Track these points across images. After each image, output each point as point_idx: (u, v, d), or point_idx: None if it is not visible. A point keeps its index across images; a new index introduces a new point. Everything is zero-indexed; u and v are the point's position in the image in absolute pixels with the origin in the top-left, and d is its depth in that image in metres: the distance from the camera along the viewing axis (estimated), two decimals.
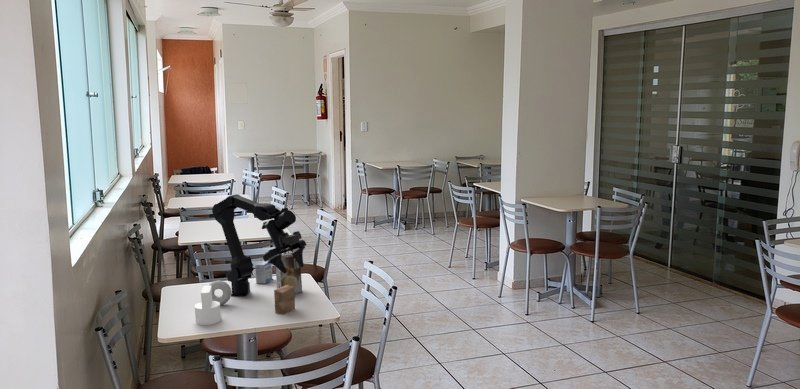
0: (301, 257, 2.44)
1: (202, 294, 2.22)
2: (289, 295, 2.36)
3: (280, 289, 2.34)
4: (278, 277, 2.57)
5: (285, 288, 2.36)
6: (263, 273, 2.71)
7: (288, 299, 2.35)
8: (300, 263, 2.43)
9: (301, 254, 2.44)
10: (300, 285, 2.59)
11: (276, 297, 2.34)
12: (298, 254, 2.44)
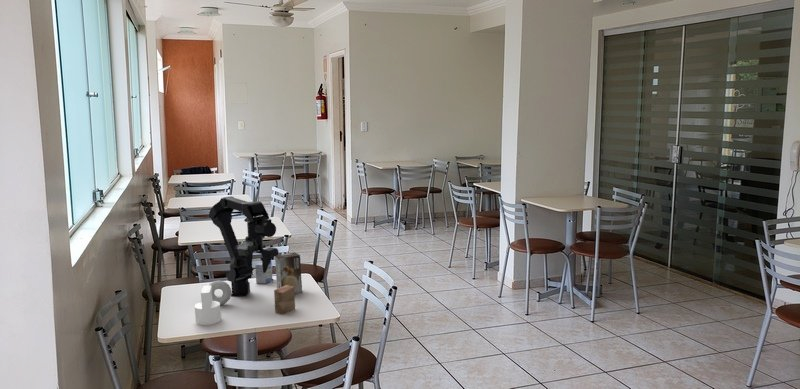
0: (263, 265, 2.44)
1: (202, 294, 2.22)
2: (289, 295, 2.36)
3: (280, 289, 2.34)
4: (278, 277, 2.57)
5: (285, 288, 2.36)
6: (263, 273, 2.71)
7: (288, 299, 2.35)
8: None
9: (263, 262, 2.44)
10: (300, 285, 2.59)
11: (276, 297, 2.34)
12: None
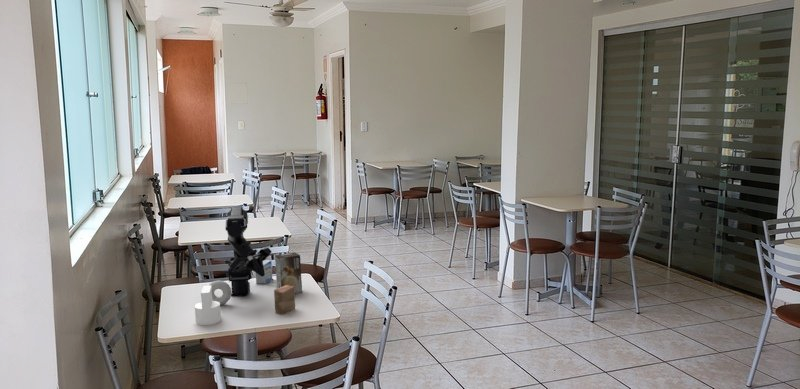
0: None
1: (202, 294, 2.22)
2: (289, 295, 2.36)
3: (280, 289, 2.34)
4: (278, 277, 2.57)
5: (285, 288, 2.36)
6: None
7: (288, 299, 2.35)
8: None
9: None
10: (300, 285, 2.59)
11: (276, 297, 2.34)
12: None
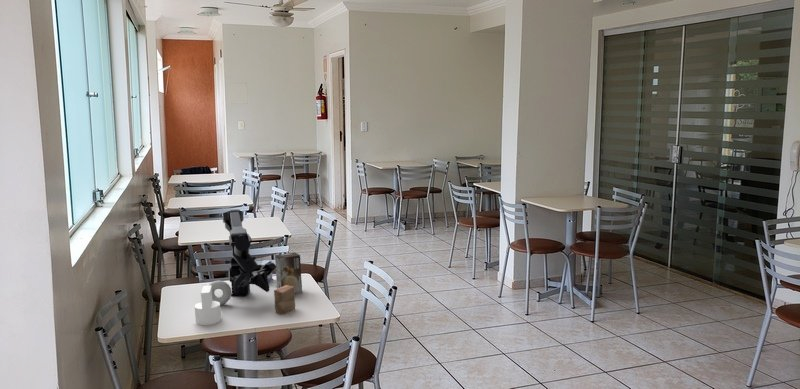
0: None
1: (202, 294, 2.22)
2: (289, 295, 2.36)
3: (280, 289, 2.34)
4: (278, 277, 2.57)
5: (285, 288, 2.36)
6: None
7: (288, 299, 2.35)
8: None
9: None
10: (300, 285, 2.59)
11: (276, 297, 2.34)
12: None
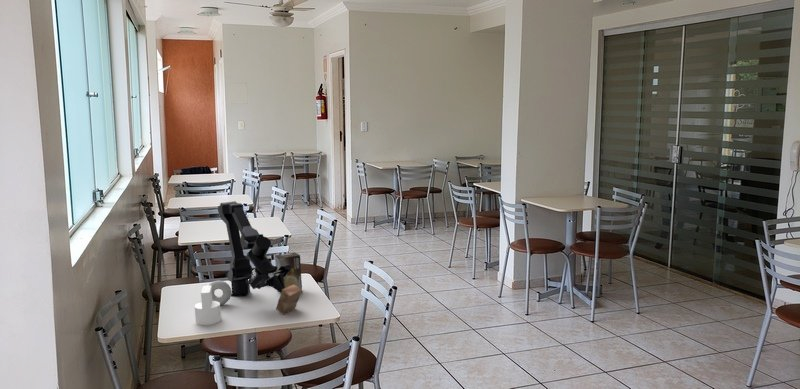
0: None
1: (202, 294, 2.22)
2: (294, 297, 2.34)
3: (288, 290, 2.33)
4: None
5: (293, 290, 2.34)
6: None
7: (292, 301, 2.34)
8: None
9: None
10: (300, 285, 2.59)
11: (282, 296, 2.32)
12: None
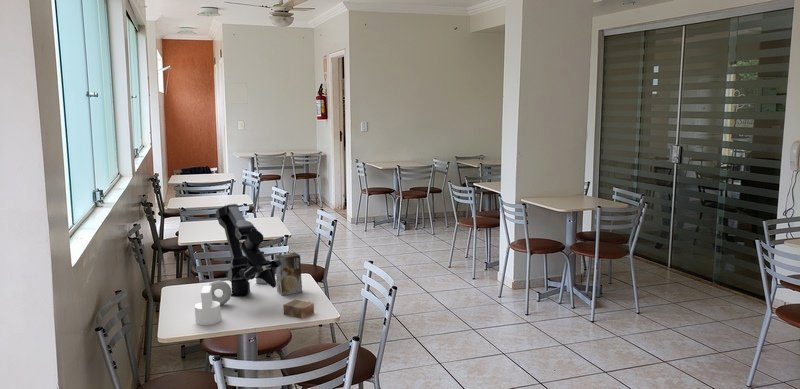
0: None
1: (202, 294, 2.22)
2: None
3: (305, 311, 2.30)
4: (278, 277, 2.57)
5: (308, 311, 2.32)
6: None
7: None
8: None
9: None
10: (300, 285, 2.59)
11: (296, 309, 2.30)
12: None
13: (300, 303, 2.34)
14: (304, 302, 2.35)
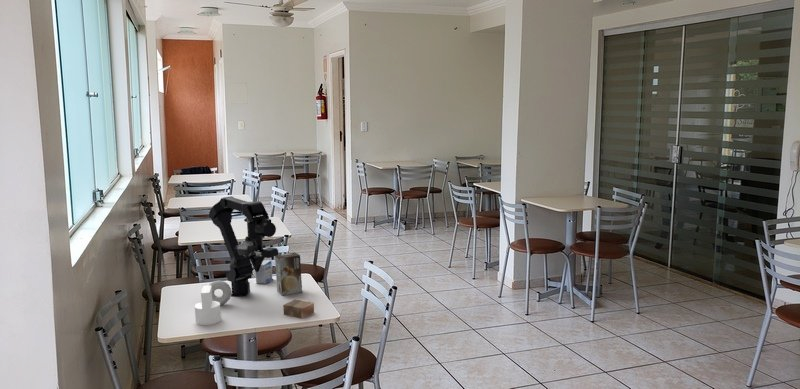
0: (256, 263, 2.46)
1: (202, 294, 2.22)
2: None
3: (305, 311, 2.30)
4: (278, 277, 2.57)
5: (308, 311, 2.32)
6: (263, 273, 2.71)
7: None
8: None
9: (256, 261, 2.45)
10: (300, 285, 2.59)
11: (296, 309, 2.30)
12: None
13: (300, 303, 2.34)
14: (304, 302, 2.35)
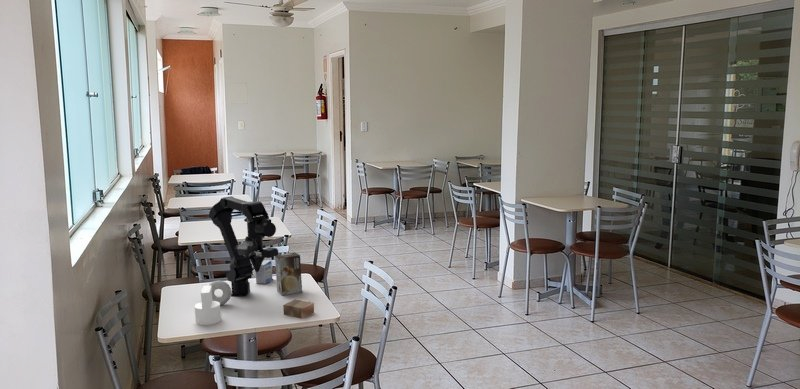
0: (256, 263, 2.46)
1: (202, 294, 2.22)
2: None
3: (305, 311, 2.30)
4: (278, 277, 2.57)
5: (308, 311, 2.32)
6: (263, 273, 2.71)
7: None
8: None
9: (256, 261, 2.45)
10: (300, 285, 2.59)
11: (296, 309, 2.30)
12: None
13: (300, 303, 2.34)
14: (304, 302, 2.35)
